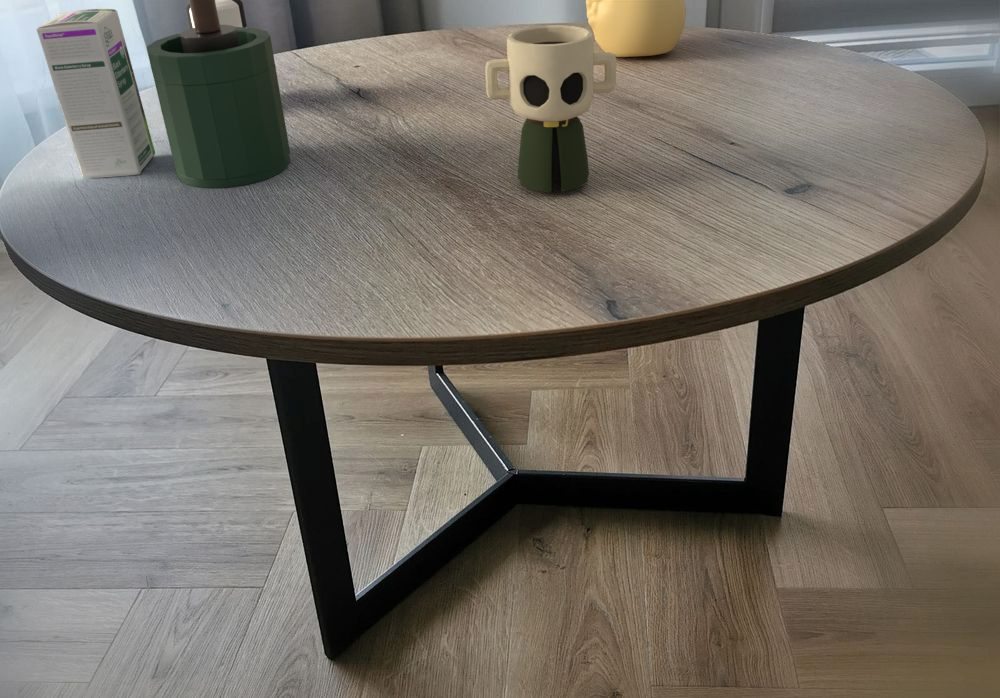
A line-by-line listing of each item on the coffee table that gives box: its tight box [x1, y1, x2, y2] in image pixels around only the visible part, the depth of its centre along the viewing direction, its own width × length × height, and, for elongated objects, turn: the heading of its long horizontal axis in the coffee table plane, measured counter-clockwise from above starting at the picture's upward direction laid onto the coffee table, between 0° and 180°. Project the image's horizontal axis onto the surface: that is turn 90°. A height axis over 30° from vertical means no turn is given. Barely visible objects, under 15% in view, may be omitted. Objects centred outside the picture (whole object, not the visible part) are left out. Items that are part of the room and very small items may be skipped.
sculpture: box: [585, 0, 687, 58], centre depth 119 cm, size 12×12×11 cm
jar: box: [146, 27, 292, 189], centre depth 90 cm, size 11×11×12 cm
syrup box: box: [35, 8, 156, 179], centre depth 91 cm, size 6×6×14 cm
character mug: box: [484, 24, 617, 193], centre depth 81 cm, size 11×7×13 cm, turn 92°
